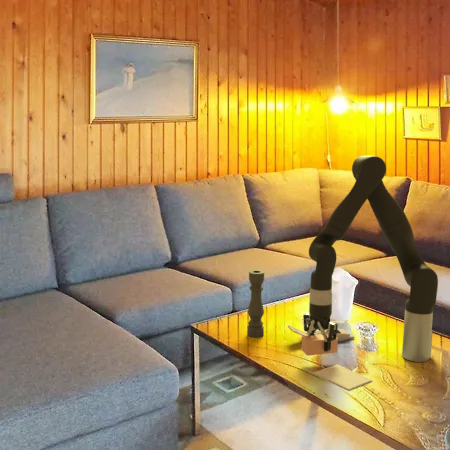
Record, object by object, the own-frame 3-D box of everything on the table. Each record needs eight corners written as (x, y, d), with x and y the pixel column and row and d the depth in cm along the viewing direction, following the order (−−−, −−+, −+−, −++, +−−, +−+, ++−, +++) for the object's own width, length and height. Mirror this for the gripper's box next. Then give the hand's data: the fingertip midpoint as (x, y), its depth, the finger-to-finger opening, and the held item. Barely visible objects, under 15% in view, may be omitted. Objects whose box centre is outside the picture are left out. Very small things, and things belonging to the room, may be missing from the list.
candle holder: (245, 333, 241) (246, 270, 236) (260, 331, 243) (261, 269, 238) (250, 339, 235) (251, 274, 230) (265, 337, 237) (267, 273, 232)
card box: (331, 346, 217) (331, 333, 216) (337, 352, 213) (337, 338, 212) (301, 350, 215) (301, 336, 214) (306, 355, 210) (307, 341, 209)
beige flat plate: (337, 365, 212) (337, 364, 212) (371, 381, 201) (372, 379, 201) (313, 373, 206) (313, 372, 206) (348, 390, 194) (348, 389, 194)
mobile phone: (287, 325, 234) (349, 319, 240) (286, 340, 235) (348, 334, 241) (292, 331, 228) (356, 325, 234) (292, 346, 229) (355, 340, 235)
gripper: (344, 304, 207) (342, 351, 210) (313, 293, 218) (311, 339, 221) (328, 308, 202) (327, 357, 206) (297, 297, 213) (296, 344, 217)
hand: (319, 347), depth 213 cm, fingers closed on card box, 6 cm apart
